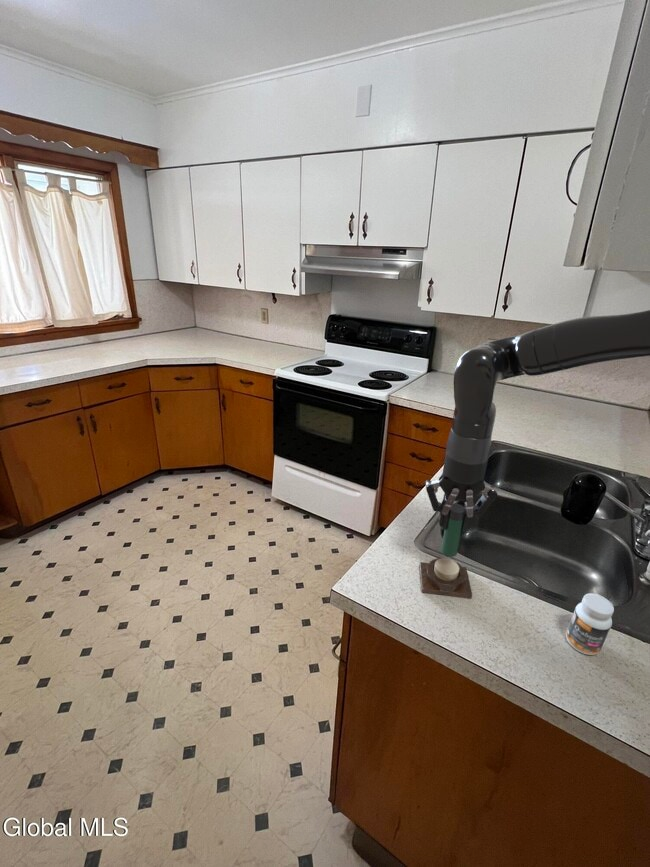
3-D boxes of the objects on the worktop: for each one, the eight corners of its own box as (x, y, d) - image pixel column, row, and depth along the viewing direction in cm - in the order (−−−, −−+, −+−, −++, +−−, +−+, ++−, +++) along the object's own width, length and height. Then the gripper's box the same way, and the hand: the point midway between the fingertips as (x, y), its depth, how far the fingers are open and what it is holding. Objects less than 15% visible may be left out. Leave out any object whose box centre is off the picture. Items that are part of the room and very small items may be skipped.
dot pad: (456, 565, 92) (457, 559, 91) (459, 582, 87) (461, 576, 87) (432, 563, 92) (433, 556, 92) (434, 579, 88) (436, 573, 87)
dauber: (455, 547, 90) (464, 504, 85) (457, 557, 87) (466, 513, 82) (440, 545, 90) (447, 502, 85) (441, 556, 87) (449, 512, 82)
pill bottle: (565, 649, 77) (580, 609, 72) (564, 625, 81) (578, 586, 77) (601, 661, 74) (619, 621, 70) (598, 636, 79) (615, 597, 75)
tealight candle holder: (465, 571, 94) (467, 560, 93) (471, 599, 87) (473, 588, 85) (419, 565, 95) (421, 555, 94) (421, 593, 88) (423, 582, 87)
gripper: (429, 459, 76) (418, 536, 83) (512, 466, 74) (493, 544, 82) (426, 440, 82) (416, 513, 90) (502, 446, 81) (485, 520, 88)
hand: (453, 527), depth 86 cm, fingers closed on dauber, 3 cm apart
